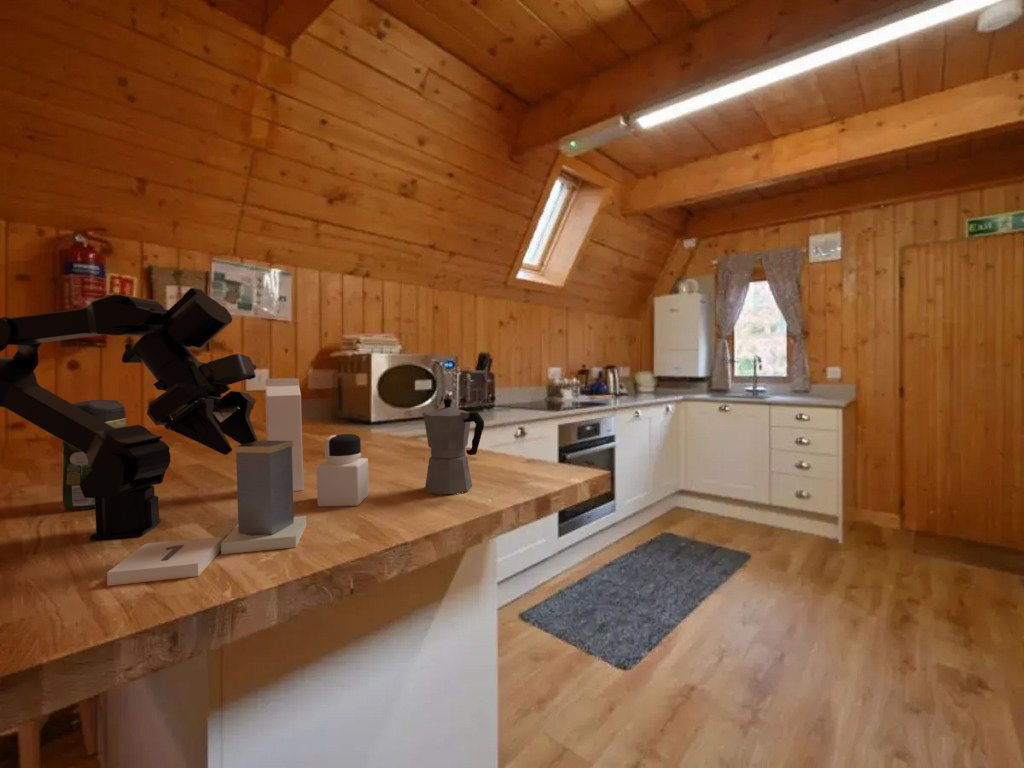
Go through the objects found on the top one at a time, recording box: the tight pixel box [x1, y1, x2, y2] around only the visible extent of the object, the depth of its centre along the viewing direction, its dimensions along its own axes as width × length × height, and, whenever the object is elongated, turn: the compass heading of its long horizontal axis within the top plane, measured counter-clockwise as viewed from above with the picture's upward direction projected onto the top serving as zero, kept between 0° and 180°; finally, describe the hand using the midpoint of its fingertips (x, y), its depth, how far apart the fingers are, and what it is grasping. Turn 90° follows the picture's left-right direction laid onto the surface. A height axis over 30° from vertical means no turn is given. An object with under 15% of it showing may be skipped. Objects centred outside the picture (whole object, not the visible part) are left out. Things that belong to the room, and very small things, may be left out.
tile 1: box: [106, 536, 224, 587], centre depth 59 cm, size 9×9×2 cm
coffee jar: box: [62, 399, 127, 511], centre depth 86 cm, size 10×8×19 cm
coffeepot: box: [422, 397, 485, 495], centre depth 93 cm, size 15×9×18 cm, turn 55°
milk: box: [264, 377, 304, 492], centre depth 95 cm, size 6×6×22 cm
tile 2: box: [220, 515, 307, 555], centre depth 68 cm, size 9×9×2 cm
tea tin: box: [234, 439, 295, 535], centre depth 68 cm, size 5×5×12 cm
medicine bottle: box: [316, 433, 370, 508], centre depth 86 cm, size 7×7×12 cm
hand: (244, 451), depth 70 cm, fingers open, 9 cm apart
